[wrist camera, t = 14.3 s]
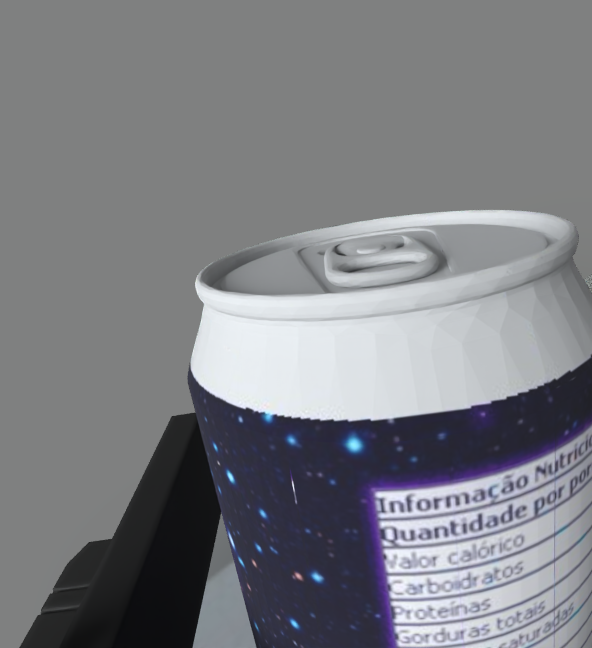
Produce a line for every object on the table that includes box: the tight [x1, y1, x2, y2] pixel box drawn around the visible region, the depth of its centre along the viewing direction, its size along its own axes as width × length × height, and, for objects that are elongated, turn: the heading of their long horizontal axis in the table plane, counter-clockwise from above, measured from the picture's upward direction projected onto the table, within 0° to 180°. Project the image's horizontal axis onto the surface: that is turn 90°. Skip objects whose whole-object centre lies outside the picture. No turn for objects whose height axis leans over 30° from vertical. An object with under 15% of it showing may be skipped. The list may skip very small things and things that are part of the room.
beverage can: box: [188, 210, 592, 648], centre depth 8 cm, size 6×6×12 cm
